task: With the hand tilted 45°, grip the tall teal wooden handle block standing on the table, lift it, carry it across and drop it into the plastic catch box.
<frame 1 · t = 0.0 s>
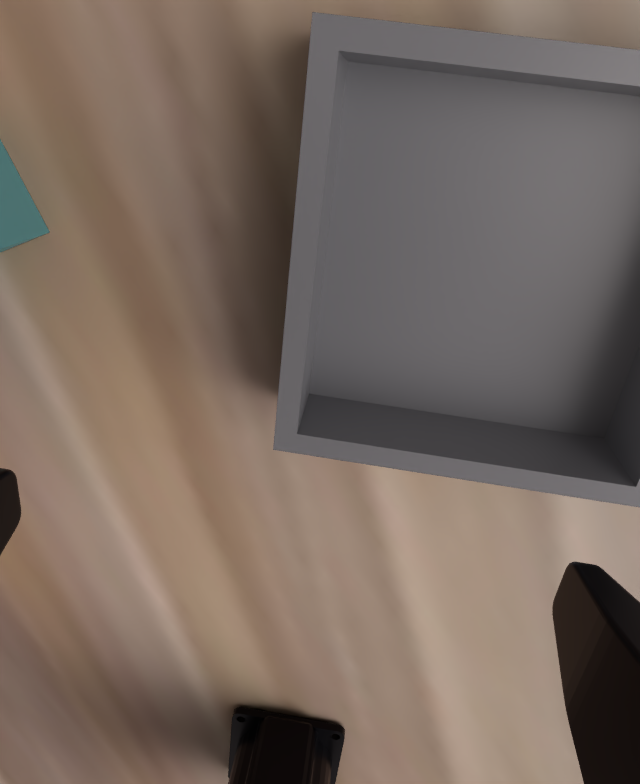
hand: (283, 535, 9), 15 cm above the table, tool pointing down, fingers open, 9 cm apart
catch box: (487, 266, 22), on the table
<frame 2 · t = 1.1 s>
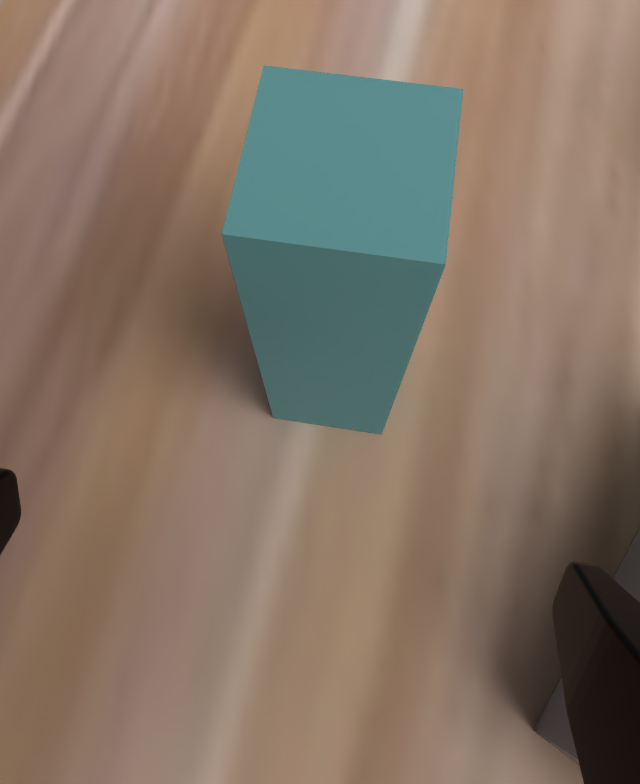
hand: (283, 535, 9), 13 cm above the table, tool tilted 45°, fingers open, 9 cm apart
handle block: (335, 375, 25), on the table
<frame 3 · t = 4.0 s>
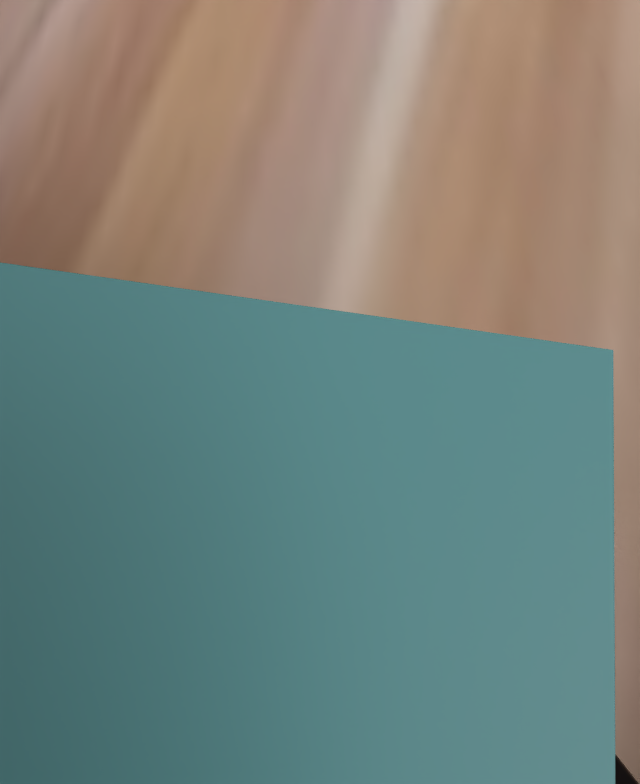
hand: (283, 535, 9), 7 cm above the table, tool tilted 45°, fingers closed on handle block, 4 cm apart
handle block: (289, 613, 15), on the table, touching gripper
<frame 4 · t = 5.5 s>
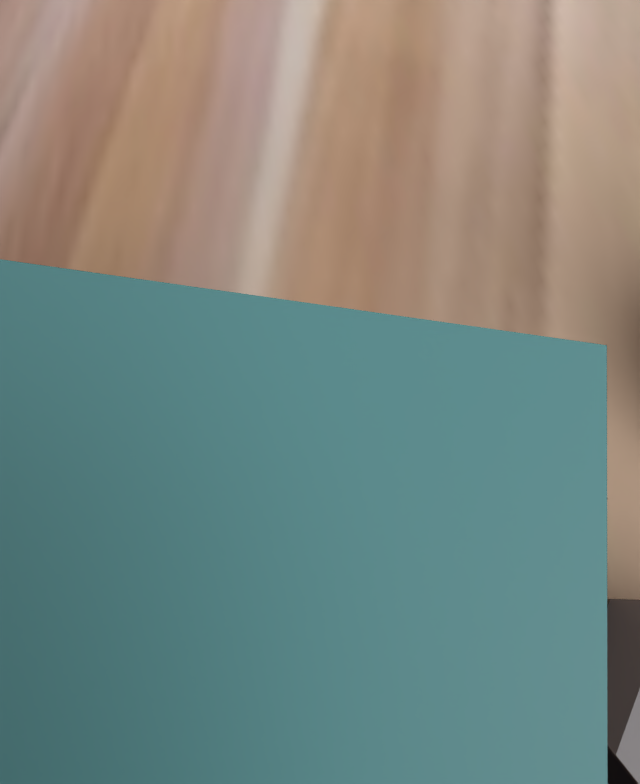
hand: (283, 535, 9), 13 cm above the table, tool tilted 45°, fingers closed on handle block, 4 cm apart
handle block: (288, 612, 15), point 7 cm above the table, touching gripper
when the fingers open (10 cm above the table, at t = 7.4 s): handle block drops 3 cm, resting on catch box.
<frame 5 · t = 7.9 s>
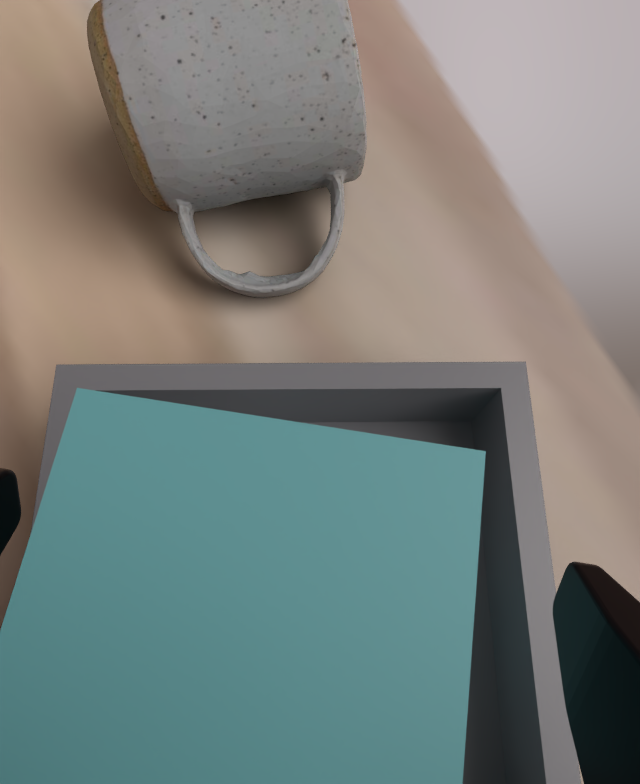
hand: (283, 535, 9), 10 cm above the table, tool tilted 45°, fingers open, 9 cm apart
catch box: (295, 609, 18), on the table
handle block: (294, 608, 18), point 1 cm above the table, touching catch box
ceramic mug: (260, 191, 24), on the table
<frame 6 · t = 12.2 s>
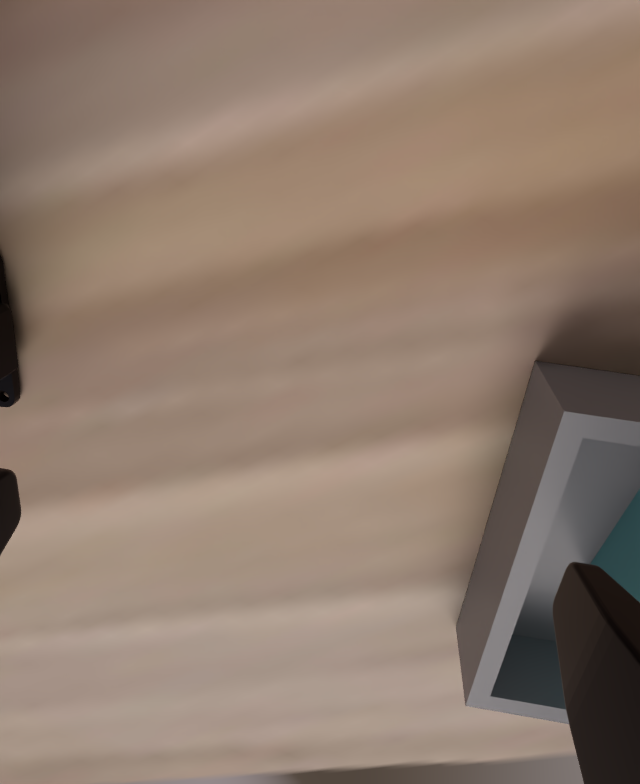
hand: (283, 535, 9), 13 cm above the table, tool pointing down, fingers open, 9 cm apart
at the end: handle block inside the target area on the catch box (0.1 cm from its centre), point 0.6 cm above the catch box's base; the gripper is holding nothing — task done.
